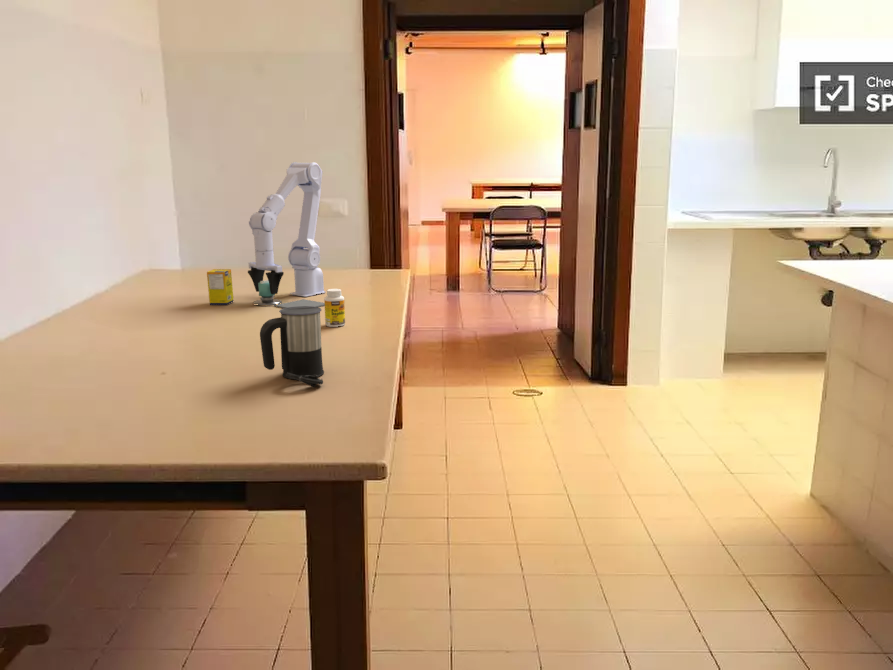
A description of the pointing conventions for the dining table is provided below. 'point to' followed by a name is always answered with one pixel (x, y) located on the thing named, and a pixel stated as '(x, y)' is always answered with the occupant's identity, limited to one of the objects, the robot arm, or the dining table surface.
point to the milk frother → (296, 344)
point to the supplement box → (220, 286)
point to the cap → (264, 288)
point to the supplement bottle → (334, 308)
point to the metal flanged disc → (267, 301)
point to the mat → (301, 304)
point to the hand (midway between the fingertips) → (266, 292)
